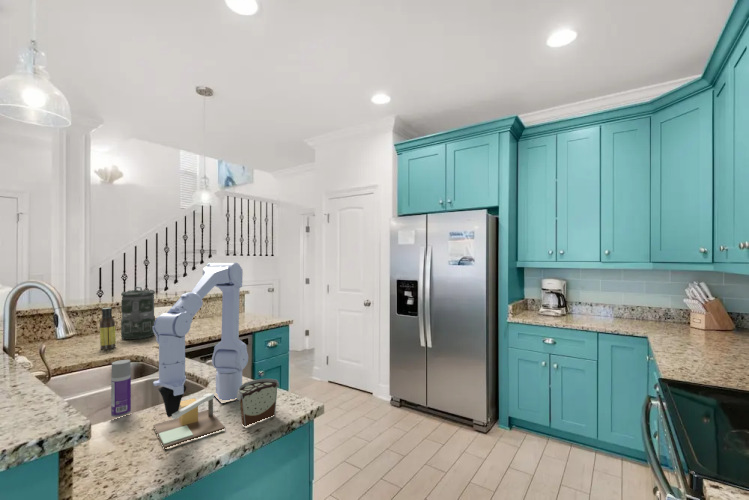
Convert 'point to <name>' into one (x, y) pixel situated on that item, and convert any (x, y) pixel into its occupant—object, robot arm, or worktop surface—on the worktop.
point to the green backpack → (137, 314)
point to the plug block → (188, 413)
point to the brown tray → (193, 425)
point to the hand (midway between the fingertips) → (172, 415)
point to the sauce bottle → (107, 329)
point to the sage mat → (175, 434)
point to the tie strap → (193, 405)
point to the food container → (257, 400)
